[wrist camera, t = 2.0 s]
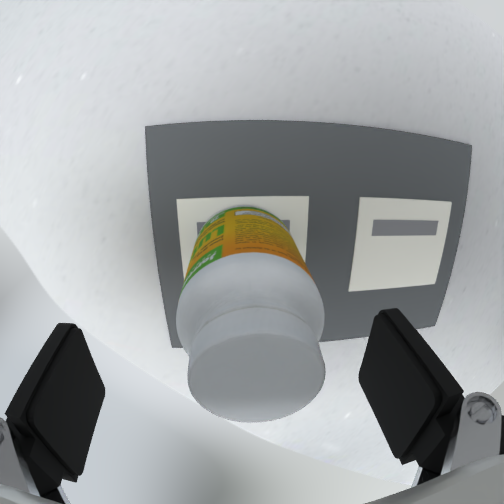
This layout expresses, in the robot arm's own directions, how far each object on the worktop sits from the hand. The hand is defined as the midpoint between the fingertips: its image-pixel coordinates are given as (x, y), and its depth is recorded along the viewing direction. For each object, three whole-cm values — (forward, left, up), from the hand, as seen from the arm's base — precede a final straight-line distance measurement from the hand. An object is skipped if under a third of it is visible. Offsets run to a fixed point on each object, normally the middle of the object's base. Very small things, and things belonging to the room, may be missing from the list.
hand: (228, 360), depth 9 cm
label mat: (-6, 0, -9) cm, 11 cm away
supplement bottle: (-1, 0, -9) cm, 9 cm away
